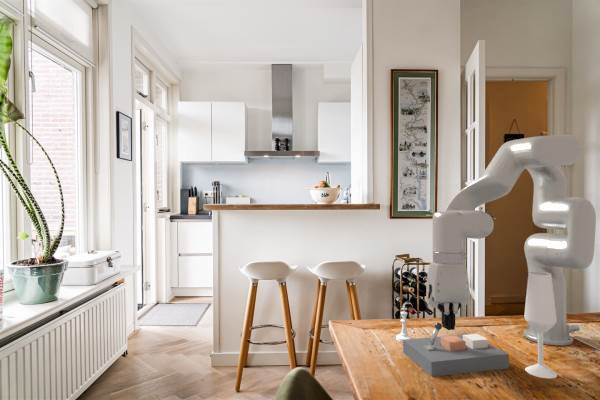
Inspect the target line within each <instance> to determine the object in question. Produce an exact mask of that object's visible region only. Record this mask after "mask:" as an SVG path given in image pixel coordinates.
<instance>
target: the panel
mask: <svg viewBox="0 0 600 400" xmlns="http://www.w3.org/2000/svg"><path fill="white" fill-rule="evenodd" d="M468 334H469V333H468ZM468 334H456V335H453V336H457V337H459V338H461V339H462V340H463V335H468ZM441 337H445V335H444V336H437V337H436V340H435V342H434V345H433V346H430V345H429V341H430V339H431V337H420V338H412V339H407V340H403V342H402V349H403V350H402V352H403V354H405V356H407V357H408V359H410V360H412V361H413V362H414V363H415V364H416V365H418V367H420V368H421V369H422V370H423V371H424V372H425V373H427V374H428V375H430V377H441V376H451V375H458V374H459V375H460V374H468V373H477V372H478V373H479V372H488V371H496V370H504V369H510V367H509V366H510V363H509V362H510V359H509V358H510V357H509V356H510V355H509V353H507V352H506V351H504V350H501V349H500V348H498V347H496V346H494V345H493V344H490V343H489V342H488V348H479V349H472V348H470V347H468V346H466V350H458V351H449V350H447V349H446V348H444V347H443V346H441Z"/></svg>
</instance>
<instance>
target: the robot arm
mask: <svg viewBox="0 0 600 400" xmlns="http://www.w3.org/2000/svg"><path fill="white" fill-rule="evenodd" d="M583 150H584V149H583V144H582V142H581V140H580V139H579V138H578V137H576V136H575V135H572V134H558V135H557V134H556V135H538V136H531V137H530V136H529V137H525V138H519V139H517V138H516V139H513V140H509V141H506V142H504V143H502V145H501V146H500V147H499V148H498V150H497V152H496V153H495V155H494V156H493V158H492V159H491V161H490V162H489V163H488V165H487V167H486V168H485V169H484V171H483V173H482V174H481V175H480V177H479V178H477V179H475V180H474V181H473V182H470V183H469V185H467V186H466V187H464V188H462V189H461V190H460V191H458V192H457V193H456V194H455V195H453V197H452V198H451V199H450V201H449V203H448V204H447V206H446V207H445V209H444V210H443V211H435V212H434V213H433V215H432V220H431V221H432V262H429V266H428V271H427V276H426V293H425V295H426V299H428V306H429V307H431V308H434V309H435V308H436V309H437V310H439V312H440V313H441V325H442V328H444V329H445V330H447V331H451V330H452V331H453V330H454V331H455V329H456V327H455V326H456V315H457V314H458V312H459V310H460V309H461V307H465V306H468V304H469V301H468V300H469V298H470V285H469V283H470V282H469V274H468V270H467V265H466V263H464V262H465V259H467V258H468V255H467V253H466V252H465V253H464V239H465V238H466V239H476V240H479V239H484V238H486V237H488V236H489V235H491V233H492V232H493V231H494V228H495V227H494V226H495V224H494V223H495V222H494V220H493V218H492V216H491V215H490V214H489V213H487V212H486V211H482V210H477V208H479V207H480V206H482V205H484V204H486V203H490V202H493V201H495V200H498V199H501V198H502V197H504V196H507V195H508V194H509V193H510V192H511V191H512V189H513V188H514V186H515V184H516V183H517V180H519V178H520V176H521V174H522V173H523V172H524V170H526V171H528V173H529V174H530V177H531V179H532V180H533V181H532V182H533V198H532V211H531V214H532V222H533V224H534V225H535V226H537V227H538V228H541V229H548V230H557V231H558V230H560V231H561V230H563V231H567V234H560V233H550V232H548V233H547V232H543V233H542V232H538V233H534V234H532V235H531V234H530V235H529V236H528V237H527V238H526V239H525V242H524V246H523V250H524V256H525V259H526V265H527V272H528V273H529V272H545V273H550V274H551V276H552V285H553V293H554V301H555V310H556V318H557V322H556V324H555V325H554V326H553V327H552V328H551V329H550V330H548V331H547V332H544V333H543V345H550V346H569V345H572V344H573V342H574V338H573V337H572V335H570V334H571V333H572V332H573V333H574V332H579V331H580V330H581V329H580V326H579V325H578V324H571V325H570V324H568V323H567V282H566V277H565V276H564V273H563V272H562V270H561V268H563V269H568V270H569V269H570V270H575V271H576V270H577V271H578V270H579V271H581V270H586V269H588V268H589V267H590V266H591V265H592V262H593V260H594V257H595V256H594V255H595V247H596V246H595V245H596V243H595V242H596V229H597V228H596V227H597V226H596V224H597V216H596V215H597V214H596V209H595V207H594V205H593V204H592V202H591V201H590V200H588V199H586V198H584V197H580V196H579V197H578V196H570V197H568V193H567V192H568V182H567V177H566V176H565V174H564V173H563V172H562V170H560V168H559V167H562V166H571V165H574V164H576V162H578V161H579V160H580V159H581V157H582V154H583ZM522 333H523V336H524V337H525V338H526V339H528V340H530V341H532V342H536V343H538V332H537V331H535V330H534V329H533V328H532V327H531V326H530V325H529V324H528V328H525V329H523V332H522Z"/></svg>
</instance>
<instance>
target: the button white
mask: <svg viewBox="0 0 600 400" xmlns="http://www.w3.org/2000/svg"><path fill="white" fill-rule="evenodd" d="M462 335H463V340H464V341H466V346H468V347H470V348H472V349H479V348H488V343H489V339H488V338H486V337H484V336H483V335H480V334H479V333H468V335H465V334H462Z"/></svg>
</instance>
